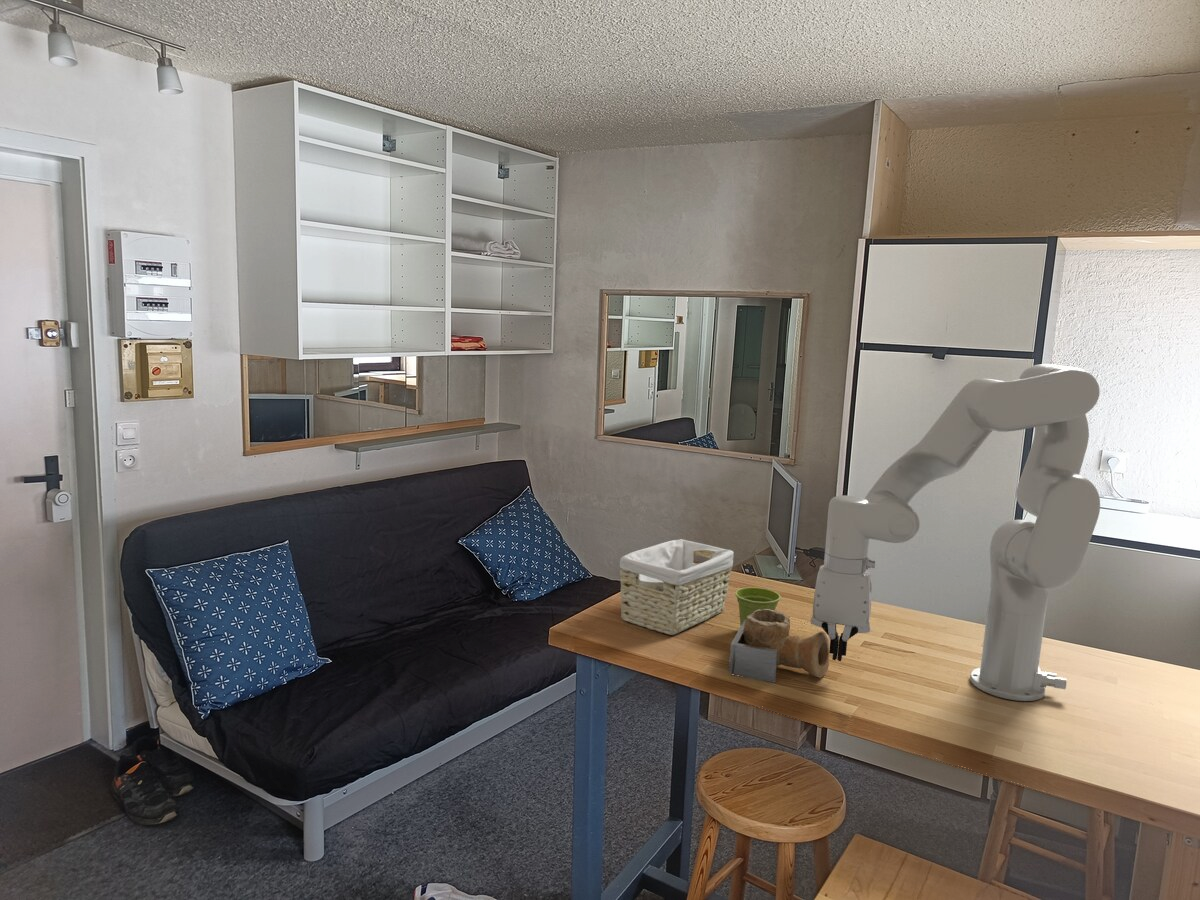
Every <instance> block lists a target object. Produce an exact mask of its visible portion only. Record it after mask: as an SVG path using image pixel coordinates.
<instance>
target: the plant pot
mask: <svg viewBox="0 0 1200 900" xmlns="http://www.w3.org/2000/svg"><path fill="white" fill-rule="evenodd" d="M734 595H735V597H736V600H737V603H738V611H739V622H740V624H739V625H740V627H741V625H742V623H743V621H744V620H747V616H749V615H751V614H752V613H753V612H754V611H756V610H758V609H760V610H764V609H770V610H776V607H778V604H779V601H781V596H782V595H781V594H780V593H778V592H776V591H775V590H772V589H768V588H763V587H757V586H756V587H753V586H751V587H750V586H748V587H741V588H738V589H737V590H735V594H734Z"/></svg>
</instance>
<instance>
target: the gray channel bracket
mask: <svg viewBox="0 0 1200 900" xmlns="http://www.w3.org/2000/svg"><path fill="white" fill-rule="evenodd" d="M745 622H746V620H744V621H743V623H742V625H741V626H740V627H739V628H738V631H737V632H736V634H735V636H734V638H733V640H732V641H731V643H730V655H729V669H728V674H729V673H730V674H734V675H733V676H735V675H739V676H738V677H740V676H743V677H742V678H746V677H747V678H748V679H751V678H752V679H751V680H756V679H757V680H758V681H763V682H768V683H774V684H775V683H776V678H777V677H776V675H777V667H778V666H777V654H778V650H775V649H769V648H763V647H757V646H751V645H745V644H744V639H743V630H744V625H745Z"/></svg>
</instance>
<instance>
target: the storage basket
mask: <svg viewBox="0 0 1200 900" xmlns="http://www.w3.org/2000/svg"><path fill="white" fill-rule="evenodd" d="M694 556H698V557H699V556H700V557H702V558H705V559H708V560H706V561H704V562H700V563H699V562H698V563H695V562H694V560H695V559H694ZM619 559H620V561H619V577H620V609H621V610H620V612H621V614H620V616H621V619H622V620H624V621H625V622H628V623H631V624H633V625H637V626H640V627H645V628H646V629H648V630H652V631H656V632H658V633H662V634H663V633H664V634H666V635H668V636H669V635H670V636H674V635H677V634H680V633H681V632H682V631H686V630H687V629H688V628H691V627H693V626H695V625H698V624H700V623H702V622H703V623H704V622H705V621H708V619H711V618H713V617H714V616H716V615H717V616H718V615H719V614H721V613H723V612H724V611H725V605H726V599H727V595H728V592H729V591H728V589H729V582H730V577H731V571H732V569H733V566H734V565H733V564H734V550H732V549H726V548H721V547H719V546H714V545H709V544H705V543H700V542H696V541H691V540H687V539H682V538H680V539H673V540H669V541H665V542H661V543H658V544H655V545H651V546H649V547H645V548H642V549H639V550H635V551H631V552H629V553H627V554H626V555H623V556H622V557H620V558H619Z"/></svg>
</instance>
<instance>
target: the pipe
mask: <svg viewBox="0 0 1200 900" xmlns="http://www.w3.org/2000/svg"><path fill="white" fill-rule="evenodd" d="M790 628H791V619H790V617H789V616H788V615H787V614H786V613H784V612H782V611H779V610H777V609H775V610H770V609H764V610H760V609H758V610H756V611H754V612H753V613H752V614H751V615H749V616H747V620H746V622H745V625H744V630H743V639H744V644H745V645H751V646H757V647H763V648H769V649H775V650H778V654H777V666H776V667H778V666H781V665H782V666H784V667H788V668H793V669H794V668H795V669H799V670H801V669H802V670H804V671H806V673H808V674H810V675H812V676H813V677H816V678H823V677H824V676H825V674H826V673H827V672H828V671H829V666H830V653H829V650H830V642H829V639H828V638H829V637H827V633H826V632H825V631H818V632H817V633H814V634H813V635H811V636H809V637H805V638H804V637H801V636H799V635H790Z"/></svg>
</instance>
